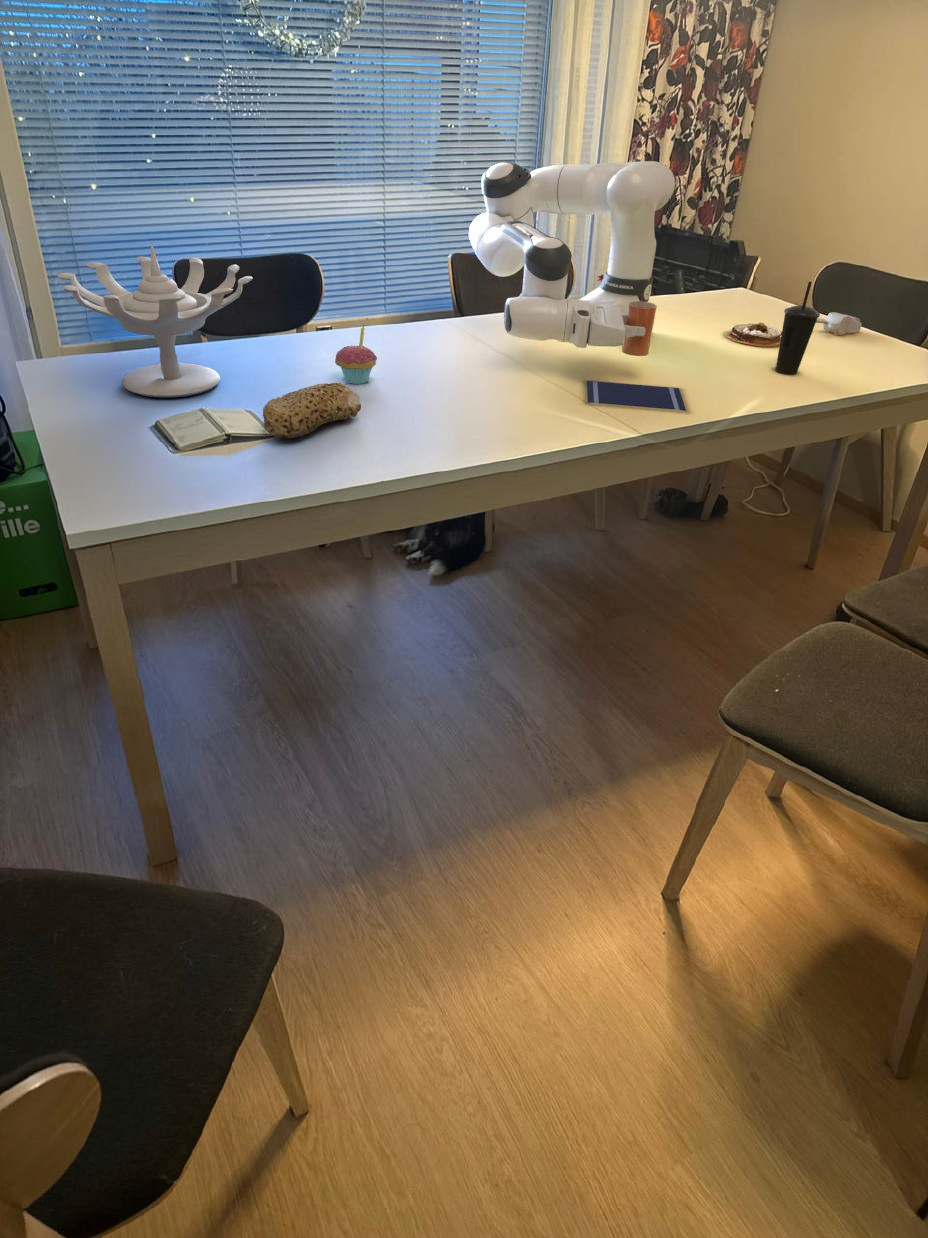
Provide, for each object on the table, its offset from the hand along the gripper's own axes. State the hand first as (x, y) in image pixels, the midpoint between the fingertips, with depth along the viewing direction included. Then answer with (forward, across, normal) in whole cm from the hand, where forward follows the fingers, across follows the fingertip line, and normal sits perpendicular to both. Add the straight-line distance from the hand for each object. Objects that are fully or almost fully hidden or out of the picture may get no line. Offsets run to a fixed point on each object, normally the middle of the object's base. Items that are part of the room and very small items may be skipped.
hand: (643, 326), depth 179 cm
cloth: (-1, +11, -12) cm, 16 cm away
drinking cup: (+36, -15, -12) cm, 41 cm away
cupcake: (-60, +15, -12) cm, 63 cm away
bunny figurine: (+58, -54, -12) cm, 81 cm away
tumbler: (-1, 0, -6) cm, 6 cm away
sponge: (-63, +42, -12) cm, 77 cm away
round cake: (+34, -42, -12) cm, 56 cm away
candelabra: (-95, +26, -12) cm, 99 cm away
